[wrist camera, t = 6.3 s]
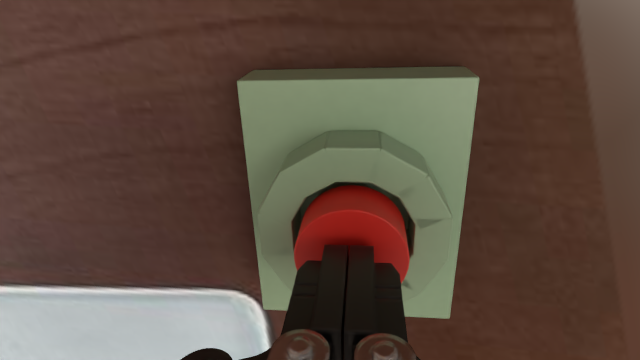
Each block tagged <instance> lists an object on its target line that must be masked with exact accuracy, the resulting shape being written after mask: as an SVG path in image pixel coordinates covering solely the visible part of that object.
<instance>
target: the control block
mask: <svg viewBox="0 0 640 360" xmlns="http://www.w3.org/2000/svg"><path fill="white" fill-rule="evenodd" d="M478 86H479V77H478V76H477V75H475V74H474V73H473V72H471V71H470V70H469V69H467V68H466V67H465V66H452V67H395V68H338V69H282V70H253V71H251V72H250V73H248V74H247V75H245V76H244V77H242V78H241V79H239V80H238V81H237V88H238V96H239V105H240V113H241V122H242V130H243V139H244V147H245V156H246V164H247V173H248V182H249V190H250V199H251V207H252V216H253V224H254V233H255V241H256V250H257V258H258V267H259V275H260V284H261V292H262V301H263V309H267V310H287V309H288V306H289V302H290V298H291V295H292V290H293V286H294V282H295V278H296V274H297V269H296V266H295V261H294V248H295V244H296V240H297V237H298V233H299V230H300V227H301V223H302V220H303V217H304V214H305V212H306V210H307V208H308V206H309V205H310V204H311V202H312V201H313V200H314V199H315V198H317V197H318V196H319V195H320V194H322V193H324V192H325V191H328V190H330V189H332V188H336V187H339V186H345V185H357V186H364V187H368V188H371V189H374V190H376V191H378V192H380V193H382V194H384V195H385V196H387V197H388V198H389V199H390V200H391V201H392V202H393V203H394V204H395V205H396V206H397V208H398V209H399V211H400V213H401V214H402V217H403V220H404V224H405V230H406V236H407V243H408V249H409V258H410V262H409V268H408V271H407V274H406V276H405V278H404V280H403V282H402V283H401V289H402V300H403V307H404V315H405V316H407V317H427V318H447V319H449V318H450V311H451V303H452V295H453V287H454V279H455V271H456V263H457V255H458V247H459V239H460V231H461V223H462V215H463V207H464V198H465V190H466V182H467V174H468V166H469V158H470V150H471V142H472V134H473V126H474V118H475V110H476V102H477V94H478Z"/></svg>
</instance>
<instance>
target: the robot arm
mask: <svg viewBox="0 0 640 360" xmlns="http://www.w3.org/2000/svg"><path fill="white" fill-rule="evenodd" d="M181 360H232V358H231V357H230V355H229V354H228V353H226V352H225V351H223V350H220V349H215V348H206V349H201V350H198V351H195V352H193V353H190V354H189V355H187V356H185V357H184V358H182V359H181ZM240 360H420V359H419V358H418V357H417V356H416V355H415V352H414V350H413V349H412V347H411V346H410V345H409V344H408V340H407V333H406V324H405V315H404V307H403V300H402V289H401V281H400V274H399V272H398V271H397V270H396V269H395V267H394V266H393V265H392V263H374V246H362V245H350V252H349V255H348V245H329V244H325V245H324V250H323V255H322V261H314V260H307V261H306V262H305V263H304V264H303V265H302V266H301V267H300V268H299V269H298V270H297V274H296V278H295V282H294V286H293V290H292V295H291V298H290V302H289V306H288V309H287V313H286V317H285V321H284V325H283V329H282V333H281V336H280V337H279V338H278V339H277V340H276V341H275V342H274V343H273V345H272V347H271V348H270V349H268V350H267V351H265V352H263V353H262V354H259V355H257V356H253V357H249V358H245V359H240Z"/></svg>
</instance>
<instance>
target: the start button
mask: <svg viewBox="0 0 640 360" xmlns="http://www.w3.org/2000/svg"><path fill="white" fill-rule="evenodd" d="M325 244H329V245H348V255H349V252H350V245H362V246H374V263H392V265H393V266H394V267H395V269H396V270H397V271H398V272H399V274H400V281H401V283H402V282H403V280H404V278H405V276H406V274H407V271H408V268H409V262H410V258H409V249H408V243H407V236H406V230H405V224H404V220H403V217H402V214H401V213H400V211H399V209H398V208H397V206H396V205H395V204H394V203H393V202H392V201H391V200H390V199H389V198H388V197H387V196H385V195H384V194H382V193H380V192H378V191H376V190H374V189H371V188H368V187H364V186H357V185H345V186H339V187H336V188H332V189H330V190H328V191H325V192H324V193H322V194H320V195H319V196H318V197H317V198H315V199H314V200H313V201H312V202H311V204H310V205H309V206H308V208H307V210H306V212H305V214H304V217H303V220H302V223H301V227H300V230H299V233H298V237H297V240H296V244H295V248H294V261H295V266H296V269H297V270H298V269H299V268H300V267H301V266H302V265H303V264H304V263H305V262H306V261H307V260H314V261H322V255H323V250H324V245H325Z"/></svg>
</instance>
